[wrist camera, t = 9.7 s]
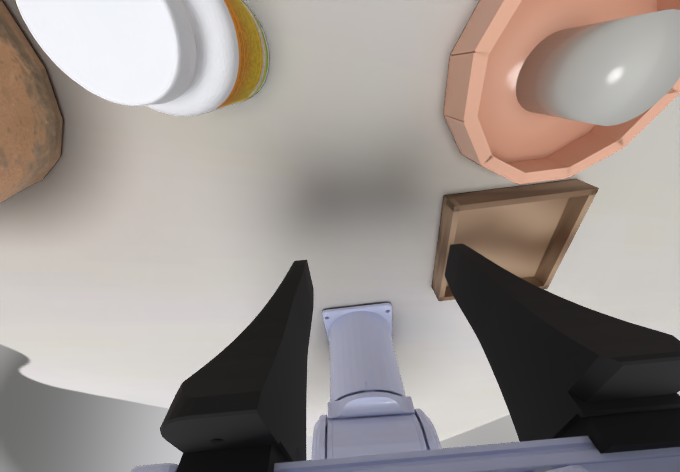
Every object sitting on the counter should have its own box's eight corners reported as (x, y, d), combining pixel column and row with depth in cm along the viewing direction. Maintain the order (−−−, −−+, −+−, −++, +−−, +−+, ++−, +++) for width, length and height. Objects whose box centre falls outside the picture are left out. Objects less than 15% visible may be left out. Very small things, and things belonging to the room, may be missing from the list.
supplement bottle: (247, -26, 13) (112, -192, 5) (283, 89, 16) (237, 106, 8) (156, 5, 13) (-106, -99, 5) (207, 111, 16) (90, 148, 8)
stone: (573, 108, 16) (656, 119, 12) (507, 117, 17) (568, 131, 12) (605, 23, 14) (722, 1, 10) (528, 34, 14) (610, 17, 10)
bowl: (596, 157, 19) (636, 169, 17) (436, 177, 20) (452, 192, 17) (713, -94, 12) (812, -137, 10) (461, -55, 13) (495, -86, 10)
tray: (533, 275, 26) (547, 289, 25) (431, 286, 27) (438, 301, 25) (576, 179, 20) (598, 188, 19) (444, 195, 21) (454, 206, 19)
